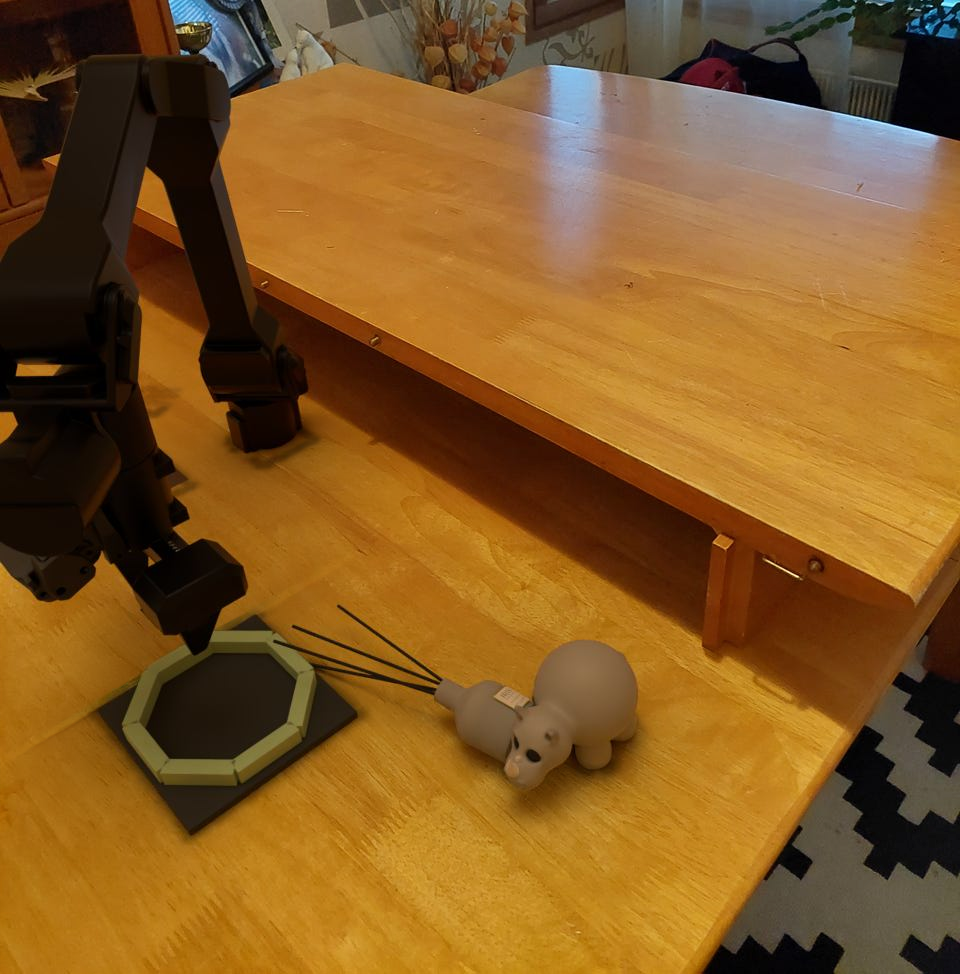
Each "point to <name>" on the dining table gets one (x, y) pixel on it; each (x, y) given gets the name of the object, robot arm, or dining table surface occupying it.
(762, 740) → the dining table surface
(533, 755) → the round bodied animal figurine
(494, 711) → the reed diffuser
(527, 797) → the dining table surface
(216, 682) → the mat
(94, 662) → the dining table surface
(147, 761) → the ring
